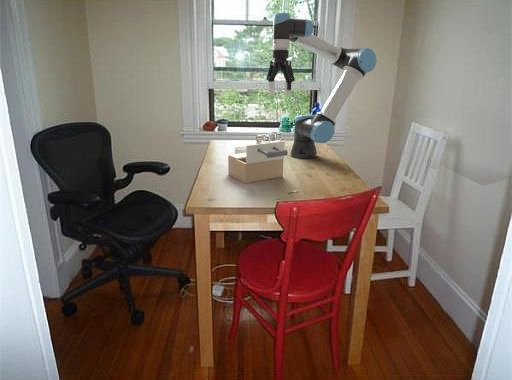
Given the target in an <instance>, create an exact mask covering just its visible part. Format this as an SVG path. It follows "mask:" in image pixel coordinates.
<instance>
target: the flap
mask: <svg viewBox="0 0 512 380" xmlns="http://www.w3.org/2000/svg"><path fill="white" fill-rule="evenodd" d="M246 147H247V148H246V164H249V163H256V162H263V161H270V160H277V159H283V160H285V159H284V157H285V156H288V150H287V149H285V141H284V140H281V141H271V142H265V143H264V142H263V143H256V144H246Z"/></svg>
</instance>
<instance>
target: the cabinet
mask: <svg viewBox="0 0 512 380" xmlns="http://www.w3.org/2000/svg"><path fill="white" fill-rule="evenodd" d="M227 161H228V163H227V164H228V165H227V166H228V167H227V168H228V169H227V170H228V175H229V176H231V178H234V179H236V180H238V181H240V182H241V183H243V184H245V185H247V184H251V182H252V183H256V182H263V181H267V180H268V181H269V180H273V179H279V178H283V177H284V159H277V160H270V161H263V162H256V163H249V164H246V153H239V154H235V153H233V154H232V153H231V154H229V155H228V157H227Z"/></svg>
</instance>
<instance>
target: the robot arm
mask: <svg viewBox="0 0 512 380" xmlns="http://www.w3.org/2000/svg"><path fill="white" fill-rule="evenodd" d="M272 22H273V23H272V25H273V26H272V27H273V30H272V31H273V35H272V49H273V50H272V59H274V60H270V61H269V68H268V71H267V74H266V81H268V90H269V91H268V95H269V96H275V90H276V89H275V84H276V83H275V82H276V81H275V79H276V77H277V74H278V73H279V71H280V72H282V74H283V77H284V79H285V85H284V98H291V96H292V95H291V93H292V91H291V90H292V83H293V82H295V75H294V71H293V68H292V61H291V60H288V59H289V56H290V55H289V54H290V53H289V52H290V51H289V49H290V42H292V43H294V44H296V45H298V46H300V47H302V48H304V49H306V50H308V51H309V52H312V53H314V54H315V55H318V56H320V57H322V58H324V59H325V60H327V61H328V63H329V64H331V65H332V66H335V67H337V68H339V69H340V70H343V73H342V75H341V77H340V79H339V80H338V82H337V84H336V85H335V87H334V89H333V90H332V92H331V94H330V95H329V97H328V99H327V100H326V102H325V104H324V105H323V107H322V109H321V110H320V111H318V112H315V114H308V115H307V114H305V115H296V116H295V118H294V132H293V133H294V135H293V144H292V147H291V149H290V157H292V158H294V159H295V158H296V159H303V160H304V159H314V158H317V156H318V151H317V147H316V143H318V144H325V143H328V142H329V141H331V140H332V139H333V137H334V135H335V125H336V118H337V117H338V115H339V114H340V112H341V110H342V108H343V107H344V105H345V103H346V101H347V100H348V98H349V97H350V96H351V94H352V92H353V90H354V89H355V86H356V85H357V83H358V82H359V81H360V80H363V79H364V77H365V76H366V74H367V73H370V72H372V71H373V70H374V69H375V67H376V65H377V55H376V53H375V51H374V50H373V49H371V48H369V47H362V48H346V47H341V46H340V45H336V46H335V45H334V44H331V43H330V42H328V41H326V40H324V39H322V38H321V37H318V36H317V35H315V34H313V32H314V22H313V21H312V20H310V19H303V18H302V19H301V18H298V19H297V18H292V17H291V15H290V13H288V12H276V13H275V14H273V21H272Z"/></svg>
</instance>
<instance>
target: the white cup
mask: <svg viewBox="0 0 512 380" xmlns="http://www.w3.org/2000/svg"><path fill="white" fill-rule="evenodd" d="M246 148H247V146H243V145H242V146H235V147H234V154H239V153H246Z"/></svg>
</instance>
